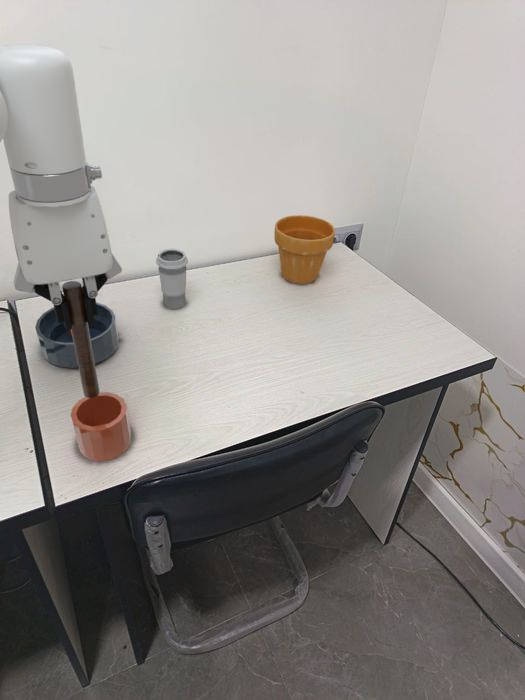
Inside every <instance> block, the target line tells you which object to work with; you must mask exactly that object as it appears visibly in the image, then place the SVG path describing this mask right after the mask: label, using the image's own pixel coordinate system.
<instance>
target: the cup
mask: <svg viewBox="0 0 525 700" xmlns="http://www.w3.org/2000/svg"><path fill="white" fill-rule="evenodd" d="M188 262H189V259H188V257H187V255H186V253H185V252H184V251H183V250H181V249H178V248H166V249H163V250H160V251H159V252H158V254H157V257H156V259H155V263H156V265H157V266H158V274H159V281H160V282H159V283H160V288H161V294H162V299H163V305H164V307H165V308H167V309H170V310H178V309H181V308H183V307H185V305H186V291H187V265H188V264H189V263H188Z"/></svg>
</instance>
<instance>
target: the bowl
mask: <svg viewBox="0 0 525 700" xmlns="http://www.w3.org/2000/svg"><path fill="white" fill-rule="evenodd" d="M96 305H97V311H98V315H96V316H94V322H95V325H93V326H91V325H89V324H88V327H89V333H90V339H91V344H92V350H93V356H94V362H95V365H96V364H98V363H100V362H103V361H104V360H107V359H108V358H109V357H111V355H112V354H113V353H115V351H116V350H117V348H118V346H119V339H120V338H119V332H118V325H117V318H116V314H115V313H114V311H113V310H112V309H111V308H109V307H108V306H107V305H105V304H102V303H100V302H97V301H96ZM34 329H35V332H36V336H37V339H38V343H39V347H40V350H41V353H42V357H43V358H44V359H45V360H47V362H48V363H50V364H53V365H55V366H57V367H63V368H68V369H69V368H71V369H72V368H78V363H77V358H76V353H75V348H74V343H73V338H72V337H71V336H70V334H69V331H66V328H65V325H64V323H63V322H62V323H58V321H57V318H56V313H55V309H54V306H53V307H51V308H50V309H48V310H47V311H44V312H43V313H42V314H41V316H40V317H39V318H38V319H37V320H36V323H35V328H34Z"/></svg>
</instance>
